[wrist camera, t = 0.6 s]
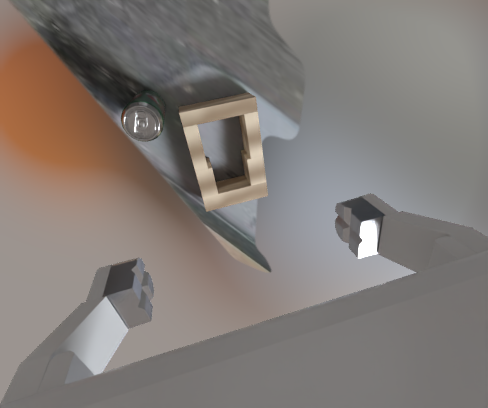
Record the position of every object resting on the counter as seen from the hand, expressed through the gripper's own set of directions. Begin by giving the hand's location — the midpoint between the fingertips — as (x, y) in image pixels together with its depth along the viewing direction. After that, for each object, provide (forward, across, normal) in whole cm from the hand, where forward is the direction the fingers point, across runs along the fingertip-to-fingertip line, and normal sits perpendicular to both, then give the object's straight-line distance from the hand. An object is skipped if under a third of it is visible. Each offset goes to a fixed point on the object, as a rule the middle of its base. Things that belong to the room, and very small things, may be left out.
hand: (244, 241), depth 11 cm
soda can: (+39, +7, 0) cm, 40 cm away
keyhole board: (+39, -4, +10) cm, 40 cm away
